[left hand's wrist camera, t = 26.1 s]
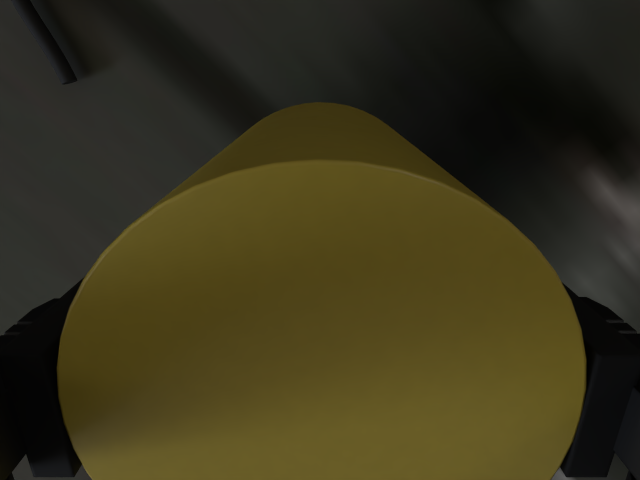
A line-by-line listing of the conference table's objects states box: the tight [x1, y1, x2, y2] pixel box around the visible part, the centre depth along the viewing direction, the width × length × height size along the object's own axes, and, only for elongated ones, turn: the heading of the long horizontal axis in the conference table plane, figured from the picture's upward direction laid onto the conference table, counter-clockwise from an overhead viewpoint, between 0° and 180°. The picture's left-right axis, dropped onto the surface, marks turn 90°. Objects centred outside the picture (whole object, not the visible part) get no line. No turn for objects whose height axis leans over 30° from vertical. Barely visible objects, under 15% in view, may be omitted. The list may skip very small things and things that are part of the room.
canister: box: [57, 102, 586, 480], centre depth 13 cm, size 9×9×12 cm
